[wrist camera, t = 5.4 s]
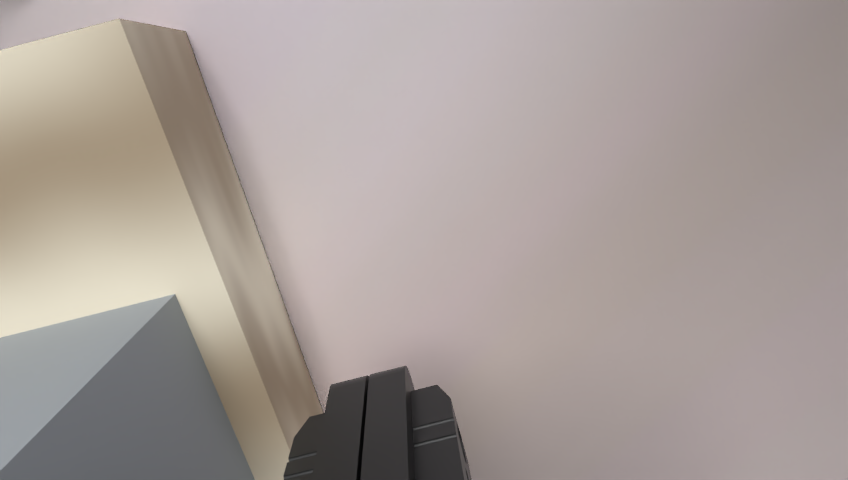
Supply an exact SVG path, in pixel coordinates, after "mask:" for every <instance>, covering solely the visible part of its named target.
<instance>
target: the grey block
mask: <svg viewBox="0 0 848 480" xmlns="http://www.w3.org/2000/svg"><path fill="white" fill-rule="evenodd" d="M0 480H255V479H254V476H253V474H252V472H251V469H250V467H249V465H248V462H247V460H246V458H245V455H244V453H243V451H242V448H241V446H240V444H239V441H238V439H237V437H236V434H235V432H234V430H233V427H232V425H231V423H230V421H229V418H228V416H227V414H226V411H225V409H224V407H223V404H222V402H221V400H220V397H219V395H218V393H217V390H216V388H215V386H214V383H213V381H212V379H211V376H210V374H209V372H208V369H207V367H206V365H205V362H204V360H203V358H202V355H201V353H200V351H199V348H198V346H197V344H196V341H195V339H194V337H193V334H192V332H191V330H190V327H189V325H188V323H187V320H186V318H185V316H184V313H183V311H182V309H181V306H180V304H179V302H178V299H177V297H176V295H175V294H173V295H169V296H165V297H161V298H157V299H153V300H149V301H145V302H141V303H137V304H133V305H129V306H125V307H121V308H117V309H113V310H109V311H105V312H101V313H97V314H93V315H89V316H85V317H81V318H77V319H73V320H69V321H65V322H61V323H57V324H53V325H49V326H45V327H41V328H37V329H33V330H29V331H25V332H21V333H17V334H13V335H9V336H5V337H1V338H0Z"/></svg>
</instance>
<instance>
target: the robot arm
mask: <svg viewBox="0 0 848 480" xmlns="http://www.w3.org/2000/svg"><path fill="white" fill-rule="evenodd" d="M288 459H289V462H287V465H286V468H285V472H284V475H283V477H284V480H471V475H470V470H469V465H468V460H467V457H466V453H465V449H464V446H463V442H462V439H461V435H460V431H459V428H458V424H457V420H456V417H455V413H454V410H453V406H452V402H451V399H450V397H449V396H448V395H447V394H446V393H445V392H444V391H443V390H442V389H441V388H440V387H439V386H438V385H434V386H430V387H426V388H422V389H418V390H414V386H413V383H412V380H411V376H410V373H409V371H408V368H407V367H406V366H403V367H399V368H395V369H391V370H387V371H383V372H379V373H375V374H371V375H370V376H364V377H360V378H356V379H352V380H348V381H344V382H340V383H336V384H332V385H331V386H330V390H329V395H328V400H327V405H326V410H325V413H322V414H318V415H314V416H310V417H309V418H308V419H307V421H306V422H305V423H304V425H303V426H302V427H301V429H300V430H299V431H298V433H297V434H296V435H295V437H294V439H293V443H292V446H291V450H290V454H289V457H288Z"/></svg>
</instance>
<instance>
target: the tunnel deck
mask: <svg viewBox="0 0 848 480" xmlns="http://www.w3.org/2000/svg"><path fill="white" fill-rule="evenodd" d="M173 294H175V295H176V297H177V299H178V302H179V304H180V306H181V309H182V311H183V313H184V316H185V318H186V320H187V323H188V325H189V327H190V330H191V332H192V334H193V337H194V339H195V341H196V344H197V346H198V348H199V351H200V353H201V355H202V358H203V360H204V362H205V365H206V367H207V369H208V372H209V374H210V376H211V379H212V381H213V383H214V386H215V388H216V390H217V393H218V395H219V397H220V400H221V402H222V404H223V407H224V409H225V411H226V414H227V416H228V418H229V421H230V423H231V425H232V427H233V430H234V432H235V434H236V437H237V439H238V441H239V444H240V446H241V448H242V451H243V453H244V455H245V458H246V460H247V462H248V465H249V467H250V469H251V472H252V474H253V476H254V479H255V480H284V477H283V475H284V472H285V468H286V465H287V462H289V459H288V457H289V454H290V450H291V446H292V443H293V439H294V437H295V435H296V434H297V433H298V431H299V430H300V429H301V427H302V426H303V425H304V423H305V422H306V421H307V419H308V418H309V417H310V416H314V415H318V414H322V413H323V411H322V408H321V405H320V402H319V400H318V397H317V394H316V391H315V389H314V386H313V383H312V380H311V378H310V375H309V372H308V369H307V366H306V364H305V361H304V358H303V355H302V353H301V350H300V347H299V344H298V341H297V339H296V336H295V333H294V330H293V328H292V325H291V322H290V319H289V317H288V314H287V311H286V308H285V305H284V303H283V300H282V297H281V294H280V292H279V289H278V286H277V283H276V281H275V278H274V275H273V272H272V269H271V267H270V264H269V261H268V258H267V256H266V253H265V250H264V247H263V245H262V242H261V239H260V236H259V233H258V231H257V228H256V225H255V222H254V220H253V217H252V214H251V211H250V209H249V206H248V203H247V200H246V197H245V195H244V192H243V189H242V186H241V184H240V181H239V178H238V175H237V172H236V170H235V167H234V164H233V161H232V159H231V156H230V153H229V150H228V148H227V145H226V142H225V139H224V136H223V134H222V131H221V128H220V125H219V123H218V120H217V117H216V114H215V112H214V109H213V106H212V103H211V100H210V98H209V95H208V92H207V89H206V87H205V84H204V81H203V78H202V76H201V73H200V70H199V67H198V64H197V62H196V59H195V56H194V53H193V51H192V48H191V45H190V42H189V40H188V37H187V34H186V31H181V30H176V29H171V28H166V27H160V26H155V25H150V24H145V23H139V22H134V21H129V20H124V19H116V20H112V21H108V22H104V23H101V24H97V25H93V26H89V27H86V28H82V29H78V30H74V31H70V32H67V33H63V34H59V35H55V36H51V37H48V38H44V39H40V40H36V41H33V42H29V43H25V44H21V45H17V46H14V47H10V48H6V49H2V50H0V338H1V337H5V336H9V335H13V334H17V333H21V332H25V331H29V330H33V329H37V328H41V327H45V326H49V325H53V324H57V323H61V322H65V321H69V320H73V319H77V318H81V317H85V316H89V315H93V314H97V313H101V312H105V311H109V310H113V309H117V308H121V307H125V306H129V305H133V304H137V303H141V302H145V301H149V300H153V299H157V298H161V297H165V296H169V295H173Z"/></svg>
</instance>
